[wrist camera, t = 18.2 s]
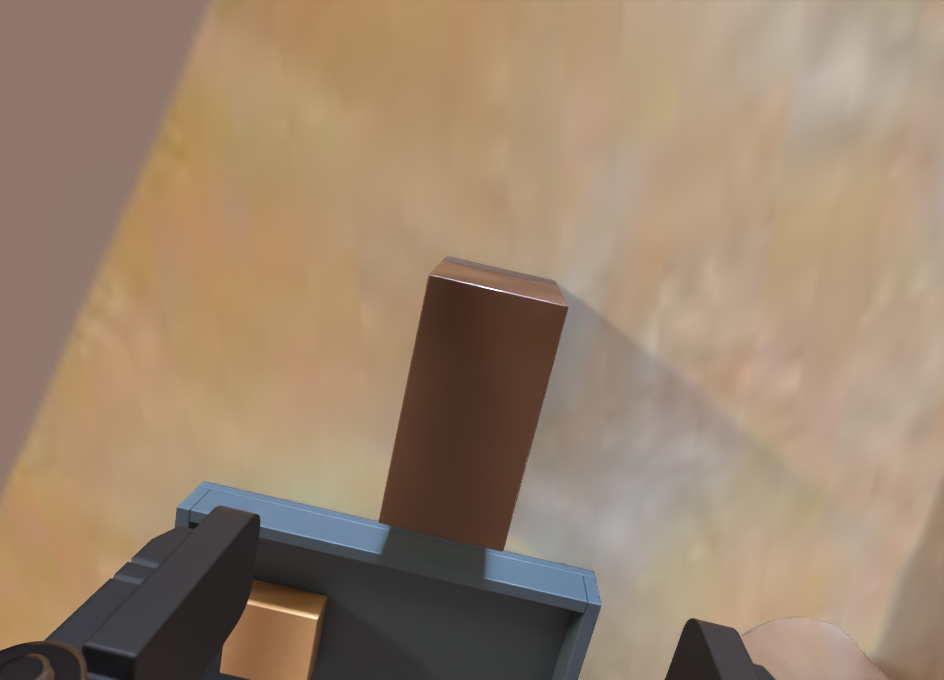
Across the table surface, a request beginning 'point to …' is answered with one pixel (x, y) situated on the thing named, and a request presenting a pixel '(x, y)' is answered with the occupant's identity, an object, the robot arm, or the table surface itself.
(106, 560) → the table surface
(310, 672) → the copper square block
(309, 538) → the tray
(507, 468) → the brown long rectangular block
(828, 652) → the metal cup with straw
